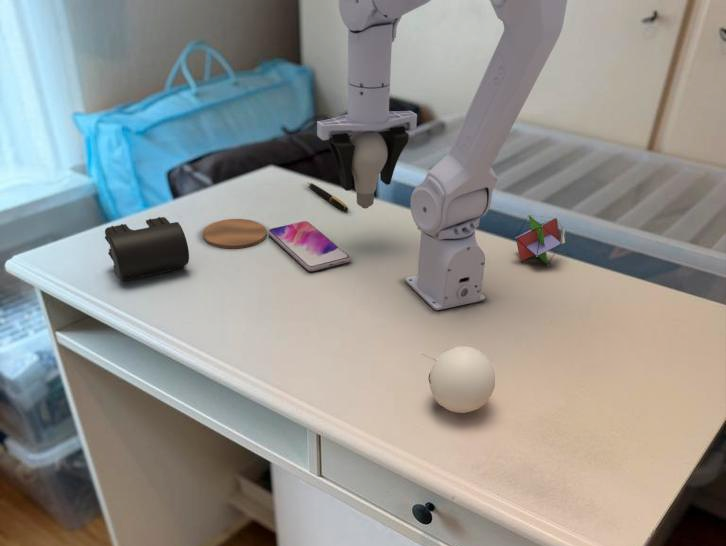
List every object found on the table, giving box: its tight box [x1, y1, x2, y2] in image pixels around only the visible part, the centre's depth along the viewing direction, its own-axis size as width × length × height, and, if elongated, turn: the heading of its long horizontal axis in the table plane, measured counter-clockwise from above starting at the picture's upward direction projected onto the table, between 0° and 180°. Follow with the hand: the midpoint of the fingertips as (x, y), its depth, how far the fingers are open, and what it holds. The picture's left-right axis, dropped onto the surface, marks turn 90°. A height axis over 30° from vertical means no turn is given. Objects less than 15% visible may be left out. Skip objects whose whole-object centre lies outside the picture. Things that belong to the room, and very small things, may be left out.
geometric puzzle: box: [515, 214, 566, 266], centre depth 108 cm, size 7×7×8 cm
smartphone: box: [267, 220, 351, 272], centre depth 111 cm, size 7×1×15 cm
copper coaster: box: [202, 218, 267, 249], centre depth 114 cm, size 10×10×1 cm
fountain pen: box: [306, 181, 349, 212], centre depth 125 cm, size 14×1×2 cm, turn 32°
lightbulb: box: [349, 131, 388, 209], centre depth 104 cm, size 6×6×11 cm
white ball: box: [421, 345, 496, 414], centre depth 80 cm, size 10×7×7 cm
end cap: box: [104, 216, 190, 282], centre depth 102 cm, size 10×7×7 cm
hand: (366, 185), depth 106 cm, fingers closed on lightbulb, 6 cm apart
